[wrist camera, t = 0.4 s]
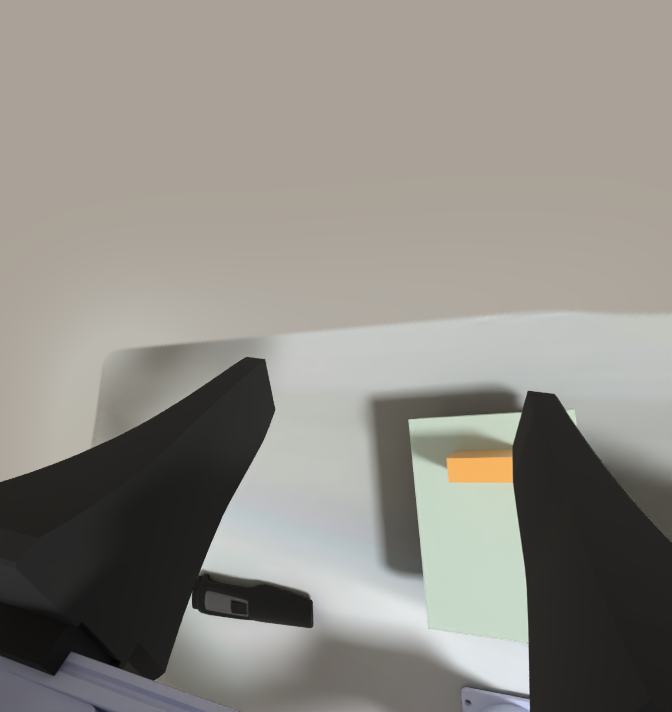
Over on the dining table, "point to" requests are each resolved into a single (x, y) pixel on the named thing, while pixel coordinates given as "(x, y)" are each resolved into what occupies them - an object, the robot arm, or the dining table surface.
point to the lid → (470, 524)
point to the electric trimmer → (252, 603)
